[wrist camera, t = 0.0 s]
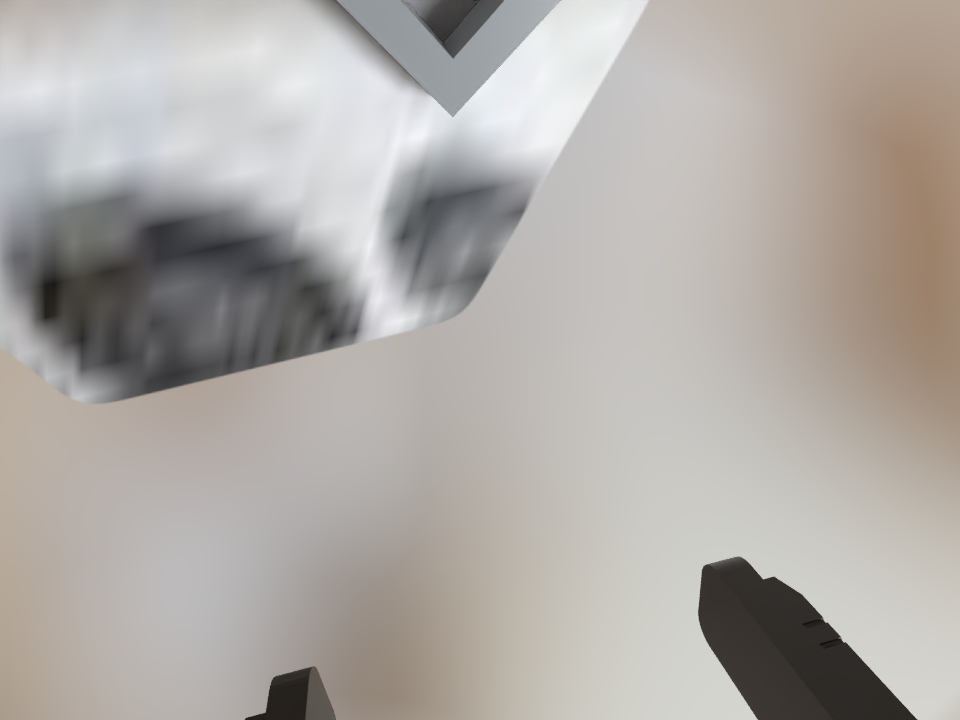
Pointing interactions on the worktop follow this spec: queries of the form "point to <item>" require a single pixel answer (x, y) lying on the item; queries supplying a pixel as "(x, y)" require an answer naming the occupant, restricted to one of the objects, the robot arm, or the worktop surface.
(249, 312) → the worktop surface
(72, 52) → the worktop surface
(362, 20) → the slate power strip
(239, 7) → the worktop surface
